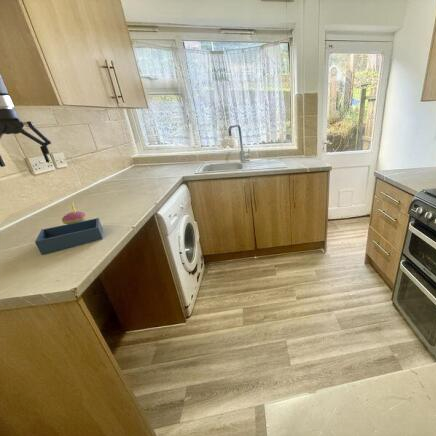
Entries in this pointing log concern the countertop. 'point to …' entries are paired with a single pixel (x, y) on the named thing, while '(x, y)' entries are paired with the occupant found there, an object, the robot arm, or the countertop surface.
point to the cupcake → (74, 216)
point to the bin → (69, 235)
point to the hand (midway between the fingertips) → (26, 164)
